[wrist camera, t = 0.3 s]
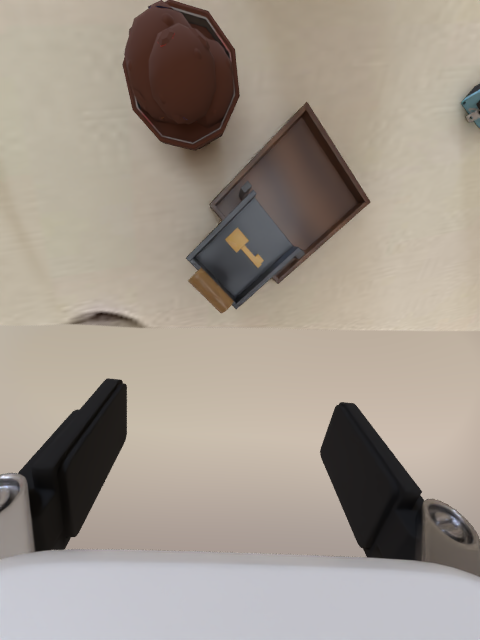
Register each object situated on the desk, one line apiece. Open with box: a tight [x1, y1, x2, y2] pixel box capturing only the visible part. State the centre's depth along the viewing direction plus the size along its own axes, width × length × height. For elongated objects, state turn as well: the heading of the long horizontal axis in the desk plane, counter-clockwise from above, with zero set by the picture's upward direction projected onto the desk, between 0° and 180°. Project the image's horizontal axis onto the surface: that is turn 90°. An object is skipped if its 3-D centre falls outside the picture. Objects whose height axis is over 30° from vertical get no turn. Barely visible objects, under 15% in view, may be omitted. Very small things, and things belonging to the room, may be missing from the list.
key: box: [225, 227, 264, 268], centre depth 31 cm, size 6×2×1 cm, turn 43°
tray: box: [209, 102, 370, 284], centre depth 32 cm, size 17×15×7 cm
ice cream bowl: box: [123, 0, 240, 150], centre depth 24 cm, size 11×11×15 cm
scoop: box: [186, 190, 301, 313], centre depth 28 cm, size 12×9×8 cm
